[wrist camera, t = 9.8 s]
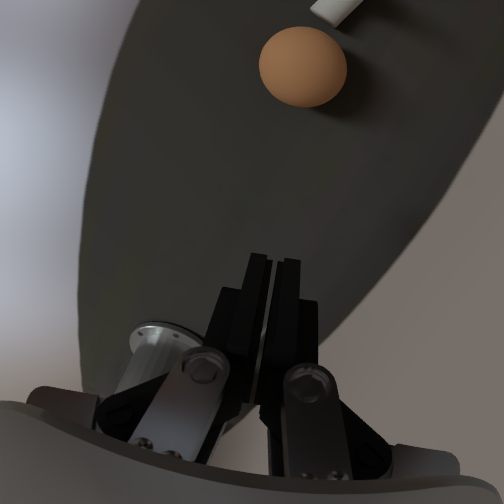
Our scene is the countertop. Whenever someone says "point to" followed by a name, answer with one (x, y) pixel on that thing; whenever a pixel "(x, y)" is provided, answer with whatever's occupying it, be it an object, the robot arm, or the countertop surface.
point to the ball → (303, 67)
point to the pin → (334, 10)
